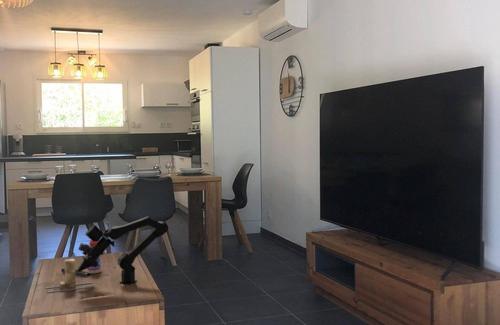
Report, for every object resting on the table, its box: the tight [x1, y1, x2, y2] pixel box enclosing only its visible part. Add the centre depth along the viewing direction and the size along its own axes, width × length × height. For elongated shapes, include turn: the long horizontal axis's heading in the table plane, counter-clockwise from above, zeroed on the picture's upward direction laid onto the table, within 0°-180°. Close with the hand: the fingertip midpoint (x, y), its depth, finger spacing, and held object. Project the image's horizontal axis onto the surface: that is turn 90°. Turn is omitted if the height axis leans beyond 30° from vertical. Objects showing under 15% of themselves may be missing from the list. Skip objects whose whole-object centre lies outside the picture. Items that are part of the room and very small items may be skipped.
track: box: [45, 281, 94, 294], centre depth 265 cm, size 22×8×1 cm, turn 114°
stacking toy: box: [86, 239, 102, 274], centre depth 298 cm, size 8×8×19 cm
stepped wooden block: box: [59, 258, 77, 290], centre depth 264 cm, size 7×6×14 cm
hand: (78, 271), depth 266 cm, fingers closed
